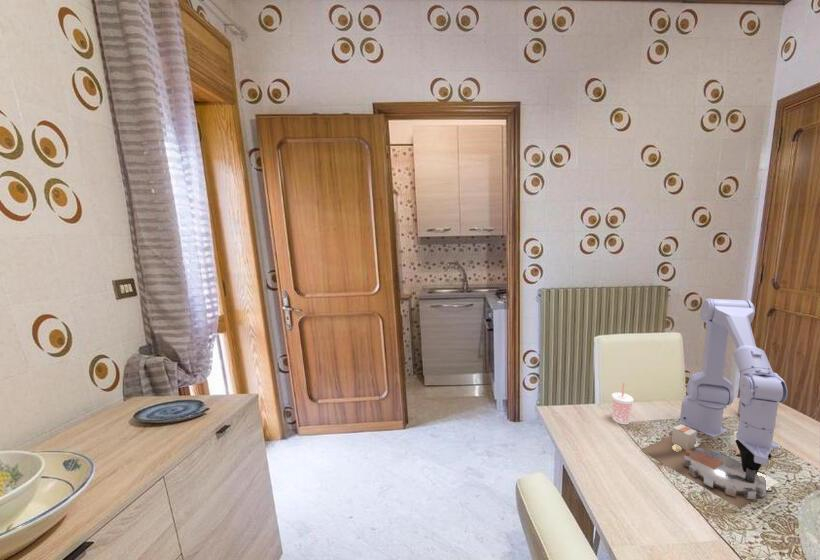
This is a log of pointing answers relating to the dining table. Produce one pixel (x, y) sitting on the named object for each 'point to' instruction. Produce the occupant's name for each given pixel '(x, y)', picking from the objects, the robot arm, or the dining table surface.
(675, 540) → the dining table surface
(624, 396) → the beverage cup
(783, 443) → the dining table surface
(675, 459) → the board
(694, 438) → the link block
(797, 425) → the dining table surface
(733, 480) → the sprocket
